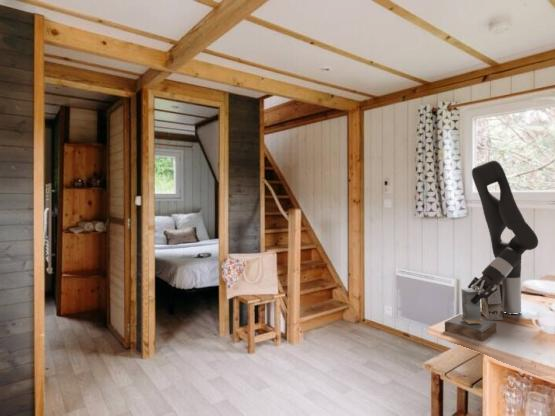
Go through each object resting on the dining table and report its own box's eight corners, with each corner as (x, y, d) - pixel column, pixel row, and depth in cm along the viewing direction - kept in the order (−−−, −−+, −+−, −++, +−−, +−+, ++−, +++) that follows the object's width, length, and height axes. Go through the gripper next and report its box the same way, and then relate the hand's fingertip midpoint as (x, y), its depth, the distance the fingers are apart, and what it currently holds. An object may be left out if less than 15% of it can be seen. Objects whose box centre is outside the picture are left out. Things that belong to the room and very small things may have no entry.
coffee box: (503, 320, 164) (503, 284, 163) (487, 320, 166) (487, 284, 165) (495, 313, 173) (495, 279, 172) (481, 312, 174) (480, 279, 173)
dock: (444, 330, 157) (444, 321, 156) (460, 322, 165) (459, 313, 164) (481, 341, 145) (481, 331, 145) (496, 331, 153) (496, 322, 152)
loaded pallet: (461, 319, 156) (460, 288, 156) (474, 318, 156) (473, 287, 156) (468, 323, 151) (467, 292, 150) (482, 322, 151) (481, 291, 150)
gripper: (481, 261, 159) (454, 290, 160) (501, 268, 145) (471, 300, 146) (493, 272, 160) (466, 301, 160) (514, 281, 145) (485, 312, 146)
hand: (469, 300), depth 153 cm, fingers open, 5 cm apart
